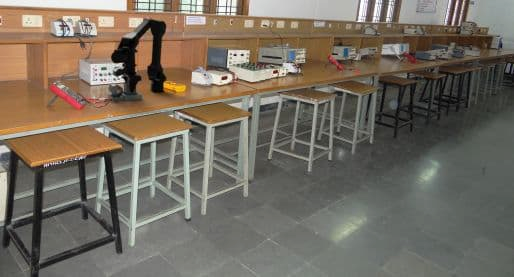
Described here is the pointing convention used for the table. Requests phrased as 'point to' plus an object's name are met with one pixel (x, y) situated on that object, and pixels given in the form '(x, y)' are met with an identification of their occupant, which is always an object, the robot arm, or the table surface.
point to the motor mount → (121, 94)
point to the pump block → (128, 89)
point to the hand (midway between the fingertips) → (130, 91)
